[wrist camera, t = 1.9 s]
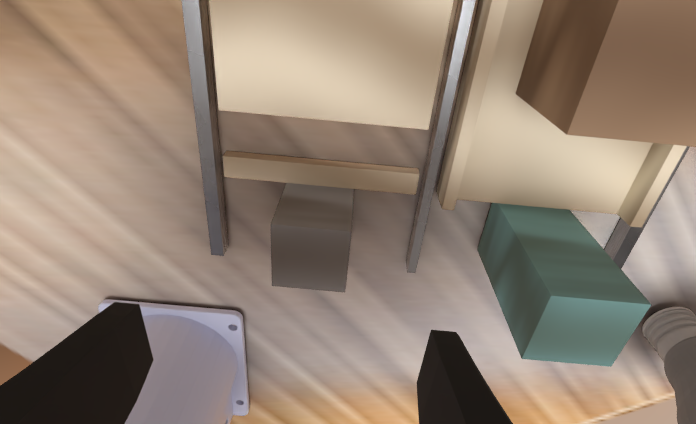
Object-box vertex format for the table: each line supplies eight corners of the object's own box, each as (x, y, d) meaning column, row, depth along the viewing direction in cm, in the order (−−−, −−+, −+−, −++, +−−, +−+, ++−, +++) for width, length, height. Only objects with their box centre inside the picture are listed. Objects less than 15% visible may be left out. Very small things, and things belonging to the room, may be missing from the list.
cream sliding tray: (594, 260, 20) (685, 373, 14) (424, 244, 20) (447, 351, 14) (773, -92, 12) (1103, -146, 7) (505, -119, 12) (620, -195, 7)
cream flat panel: (404, 241, 20) (412, 298, 16) (232, 226, 20) (204, 279, 16) (469, -102, 13) (508, -129, 9) (204, -128, 13) (144, -166, 9)
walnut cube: (631, 104, 15) (722, 149, 11) (515, 93, 15) (566, 134, 11) (694, -34, 13) (836, -37, 9) (557, -47, 13) (640, -56, 9)
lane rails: (601, 279, 20) (609, 290, 20) (216, 245, 20) (211, 254, 20) (793, -79, 13) (817, -82, 12) (175, -141, 12) (164, -148, 12)
